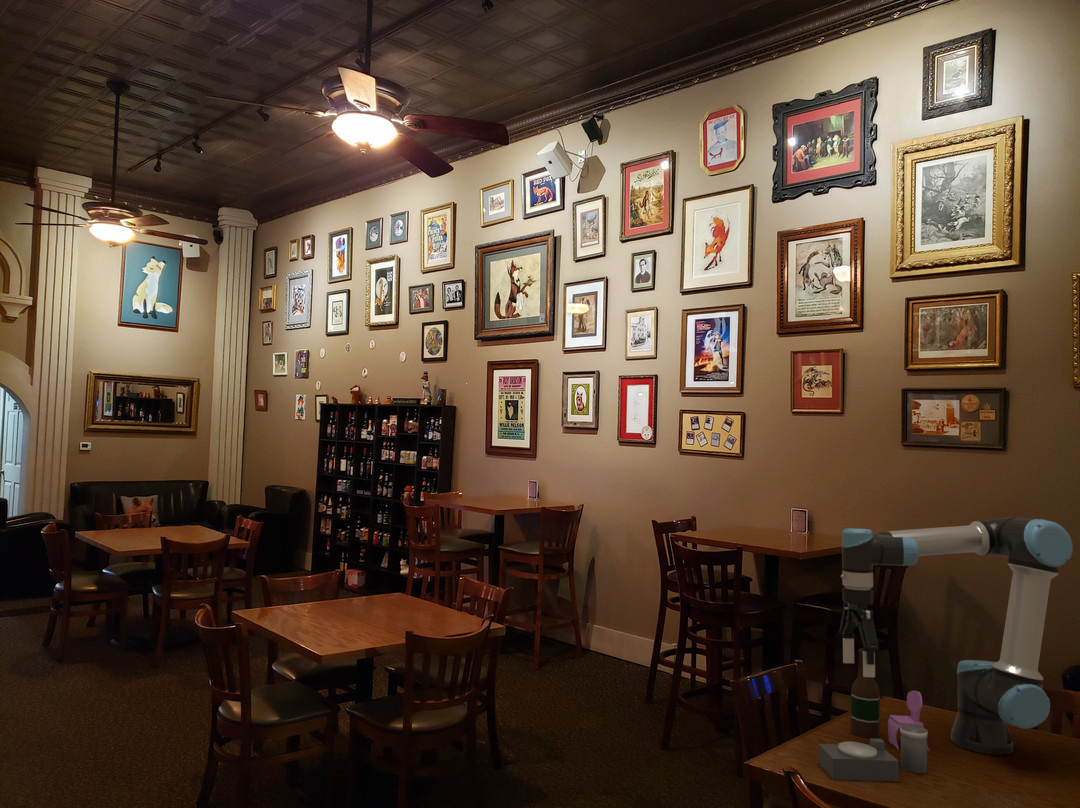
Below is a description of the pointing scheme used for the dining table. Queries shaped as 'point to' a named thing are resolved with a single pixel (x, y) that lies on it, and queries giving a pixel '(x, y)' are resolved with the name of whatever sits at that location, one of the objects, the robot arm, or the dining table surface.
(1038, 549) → the robot arm
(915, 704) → the toy chair
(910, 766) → the lens
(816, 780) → the dining table surface
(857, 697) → the beer bottle
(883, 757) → the camera body block
